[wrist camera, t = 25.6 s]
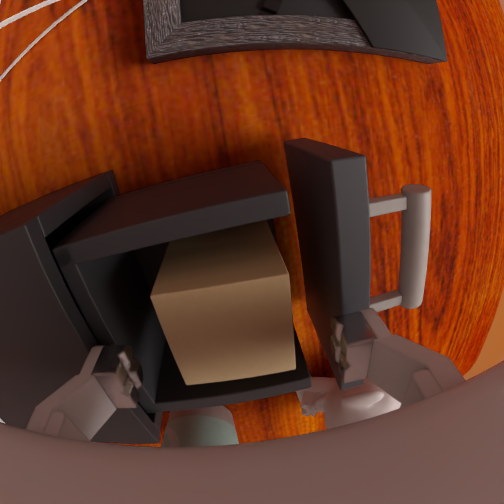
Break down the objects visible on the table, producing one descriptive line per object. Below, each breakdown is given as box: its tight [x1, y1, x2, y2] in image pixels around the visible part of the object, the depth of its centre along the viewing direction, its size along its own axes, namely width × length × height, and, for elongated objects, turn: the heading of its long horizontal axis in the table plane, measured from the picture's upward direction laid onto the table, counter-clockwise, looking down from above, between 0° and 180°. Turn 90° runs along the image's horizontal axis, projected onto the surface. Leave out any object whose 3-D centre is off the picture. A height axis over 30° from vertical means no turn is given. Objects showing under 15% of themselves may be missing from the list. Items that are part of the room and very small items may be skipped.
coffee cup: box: [161, 405, 239, 447], centre depth 19 cm, size 8×8×12 cm
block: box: [150, 220, 296, 385], centre depth 13 cm, size 4×4×6 cm
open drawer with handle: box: [52, 138, 431, 413], centre depth 13 cm, size 15×10×7 cm
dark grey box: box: [0, 170, 162, 444], centre depth 13 cm, size 12×12×9 cm
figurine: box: [296, 377, 401, 429], centre depth 20 cm, size 12×8×10 cm
